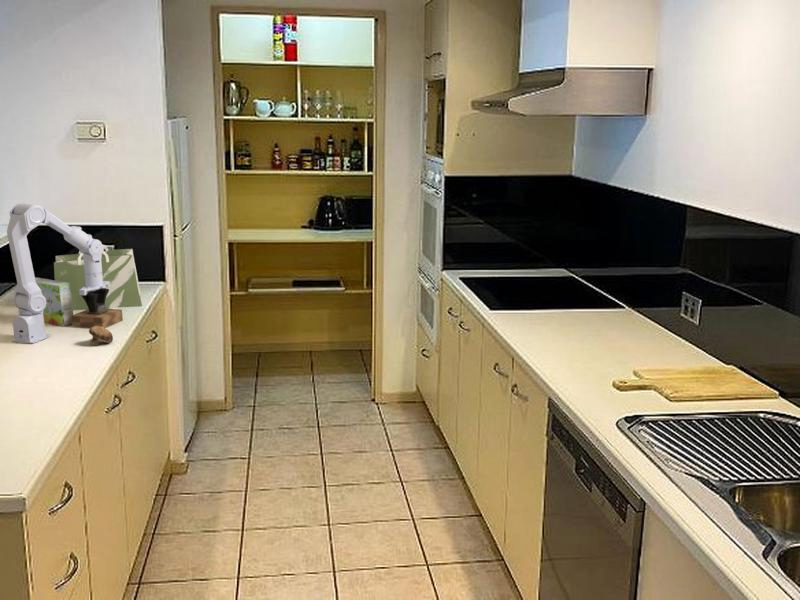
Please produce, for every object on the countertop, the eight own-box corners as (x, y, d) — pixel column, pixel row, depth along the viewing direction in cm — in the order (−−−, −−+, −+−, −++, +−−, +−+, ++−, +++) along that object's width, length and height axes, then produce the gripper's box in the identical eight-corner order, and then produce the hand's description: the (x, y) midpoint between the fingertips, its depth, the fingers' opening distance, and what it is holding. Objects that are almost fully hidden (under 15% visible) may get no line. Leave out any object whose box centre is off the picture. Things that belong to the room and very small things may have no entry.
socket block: (102, 329, 283) (101, 318, 282) (72, 326, 286) (71, 315, 285) (122, 320, 294) (121, 309, 293) (93, 318, 297) (92, 307, 296)
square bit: (99, 324, 287) (99, 306, 286) (89, 323, 288) (89, 305, 287) (106, 321, 291) (106, 303, 290) (96, 320, 292) (96, 302, 291)
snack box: (21, 319, 295) (16, 278, 291) (34, 316, 300) (30, 275, 296) (62, 327, 285) (58, 284, 282) (75, 323, 290) (71, 281, 286)
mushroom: (81, 338, 260) (91, 320, 262) (84, 341, 268) (94, 324, 270) (105, 349, 262) (115, 332, 263) (107, 352, 269) (117, 335, 271)
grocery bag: (52, 312, 305) (45, 250, 300) (56, 303, 318) (50, 244, 313) (142, 306, 314) (138, 246, 309) (142, 298, 327) (138, 240, 322)
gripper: (90, 277, 278) (94, 316, 281) (115, 269, 292) (118, 306, 295) (72, 276, 280) (76, 315, 283) (98, 268, 293) (101, 305, 296)
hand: (96, 310), depth 289 cm, fingers closed on square bit, 4 cm apart
